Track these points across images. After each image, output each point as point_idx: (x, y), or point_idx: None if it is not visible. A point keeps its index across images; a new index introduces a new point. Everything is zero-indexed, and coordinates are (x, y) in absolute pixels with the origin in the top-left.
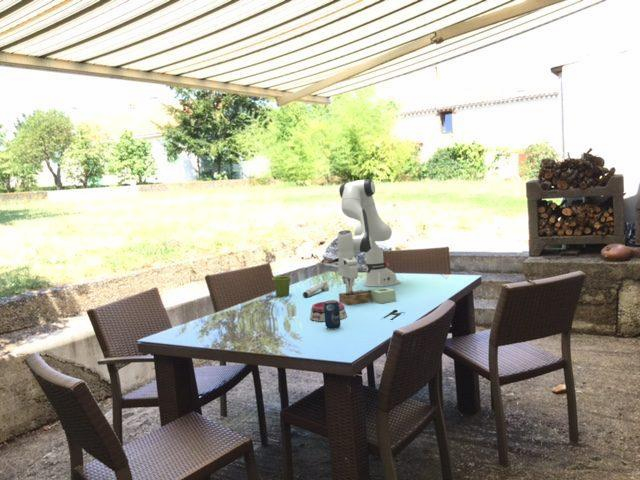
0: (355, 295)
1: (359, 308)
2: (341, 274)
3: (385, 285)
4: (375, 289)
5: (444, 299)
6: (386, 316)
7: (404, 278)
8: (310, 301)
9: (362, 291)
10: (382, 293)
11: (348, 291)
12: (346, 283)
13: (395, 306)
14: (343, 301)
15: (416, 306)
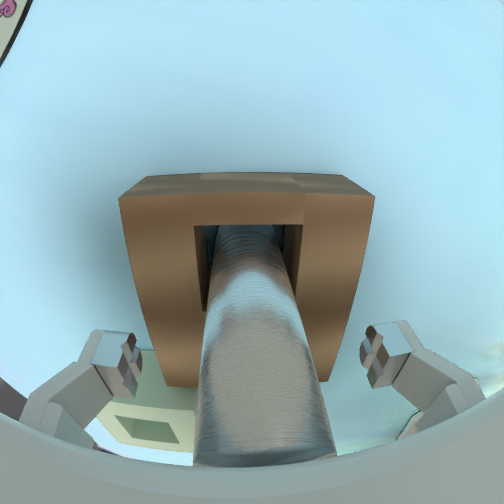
0: (148, 292)
1: (26, 219)
2: (479, 432)
3: (409, 422)
4: (190, 425)
5: (105, 447)
6: None
7: None
8: (471, 39)
9: None
10: None
11: (216, 275)
12: (229, 345)
13: (37, 356)
14: (242, 176)
15: (33, 385)
